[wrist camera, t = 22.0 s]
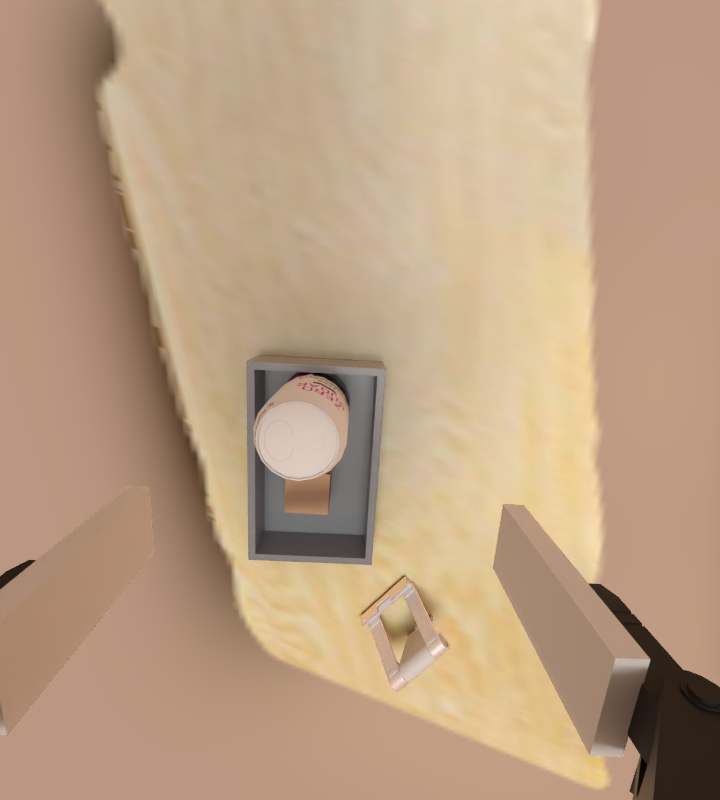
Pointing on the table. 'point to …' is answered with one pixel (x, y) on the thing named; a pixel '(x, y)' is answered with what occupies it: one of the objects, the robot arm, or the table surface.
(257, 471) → the tote
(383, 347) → the table surface
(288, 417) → the supplement can
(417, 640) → the portable electronic device stand
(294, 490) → the walnut cube
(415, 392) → the table surface
